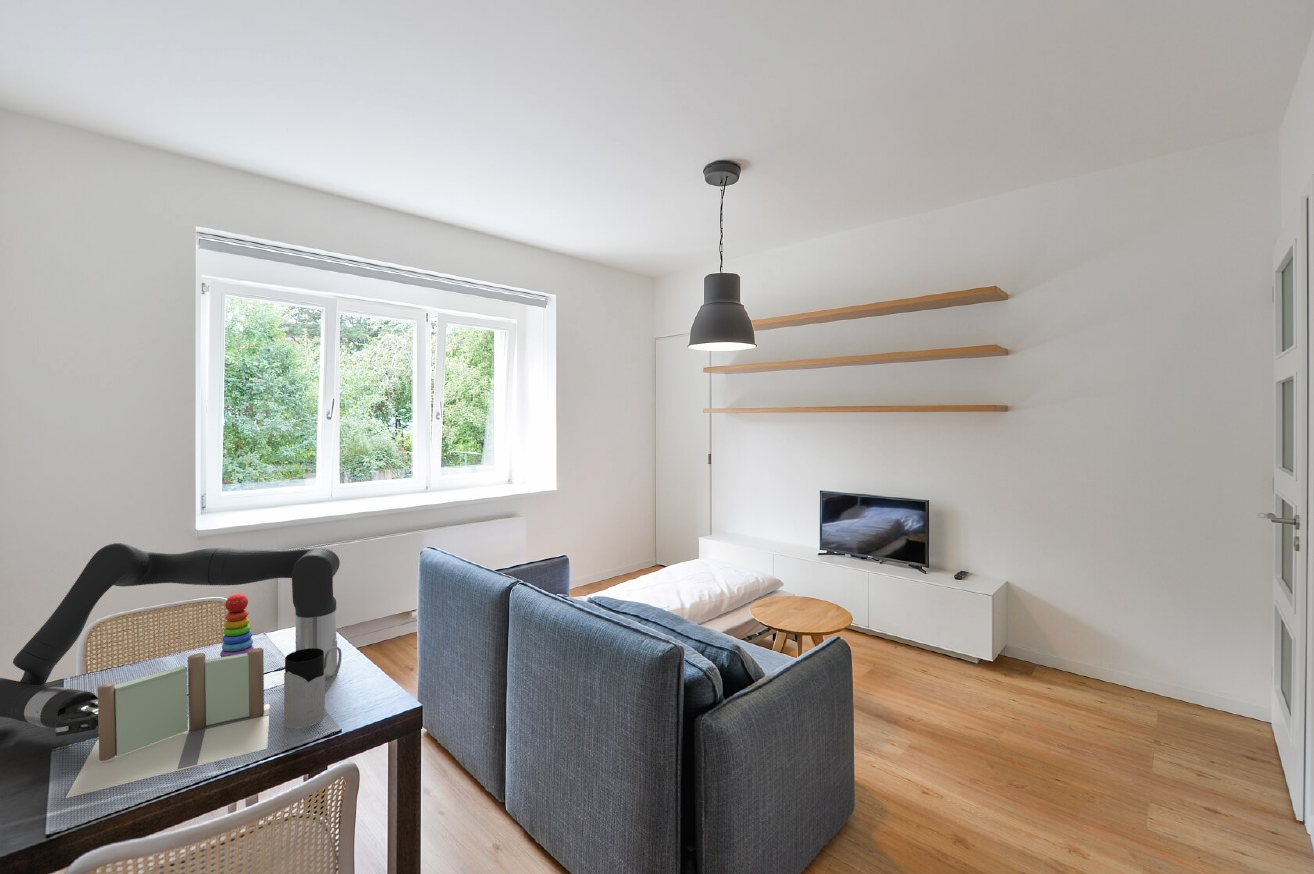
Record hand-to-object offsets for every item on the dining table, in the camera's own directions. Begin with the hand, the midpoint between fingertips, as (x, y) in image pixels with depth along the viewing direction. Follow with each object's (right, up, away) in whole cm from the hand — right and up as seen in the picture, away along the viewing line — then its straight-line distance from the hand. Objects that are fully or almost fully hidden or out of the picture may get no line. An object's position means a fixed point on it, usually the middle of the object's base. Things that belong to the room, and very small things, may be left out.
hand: (126, 719), depth 118 cm
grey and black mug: (+28, -7, +17) cm, 34 cm away
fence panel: (+2, -6, +2) cm, 7 cm away
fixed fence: (+11, -6, +12) cm, 18 cm away
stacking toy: (-8, -5, +42) cm, 43 cm away
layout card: (+9, -7, +3) cm, 12 cm away
